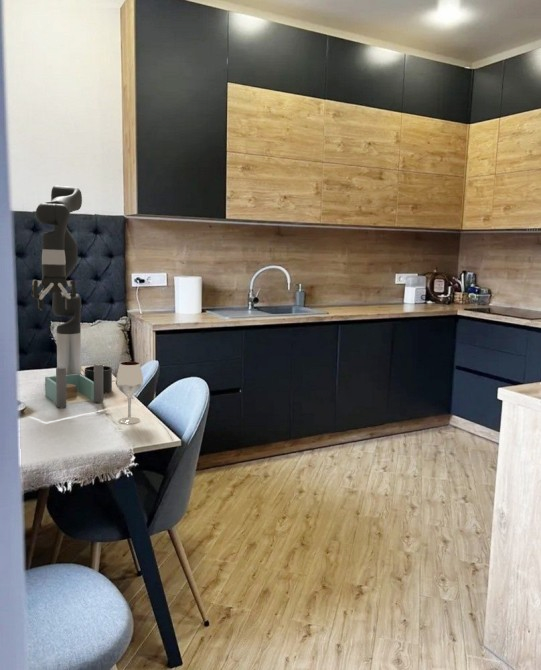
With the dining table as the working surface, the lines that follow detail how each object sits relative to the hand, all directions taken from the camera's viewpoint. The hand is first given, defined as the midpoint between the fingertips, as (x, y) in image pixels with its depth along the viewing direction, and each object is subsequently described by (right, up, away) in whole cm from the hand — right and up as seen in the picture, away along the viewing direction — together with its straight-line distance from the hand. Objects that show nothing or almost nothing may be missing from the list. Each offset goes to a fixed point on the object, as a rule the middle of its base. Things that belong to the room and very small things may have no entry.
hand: (54, 309), depth 193 cm
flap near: (+7, -32, -13) cm, 35 cm away
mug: (+12, -30, +10) cm, 34 cm away
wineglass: (+32, -35, -23) cm, 53 cm away
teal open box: (+6, -31, -2) cm, 31 cm away
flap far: (+16, -31, -6) cm, 36 cm away
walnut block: (+5, -30, -1) cm, 31 cm away
